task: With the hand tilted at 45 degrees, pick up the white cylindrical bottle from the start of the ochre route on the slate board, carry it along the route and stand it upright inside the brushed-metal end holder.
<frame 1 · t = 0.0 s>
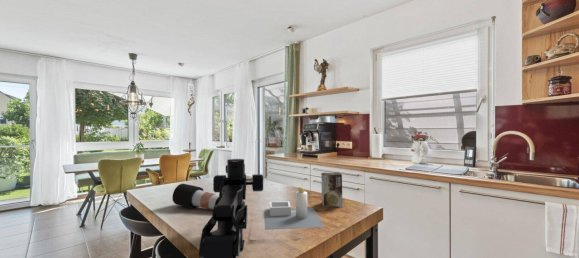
hand: (240, 179, 106), 17 cm above the worktop, tool horizontal, fingers open, 9 cm apart
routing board: (291, 220, 105), on the worktop
white cylindrical bottle: (301, 216, 105), point 1 cm above the worktop, touching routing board
coffee box: (331, 207, 123), on the worktop
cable: (208, 210, 119), on the worktop
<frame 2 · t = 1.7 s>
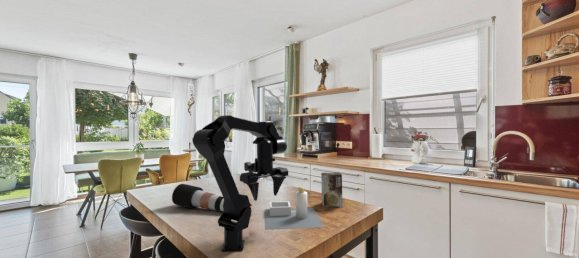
hand: (265, 197, 94), 12 cm above the worktop, tool pointing down, fingers open, 9 cm apart
nothing on the worktop moved.
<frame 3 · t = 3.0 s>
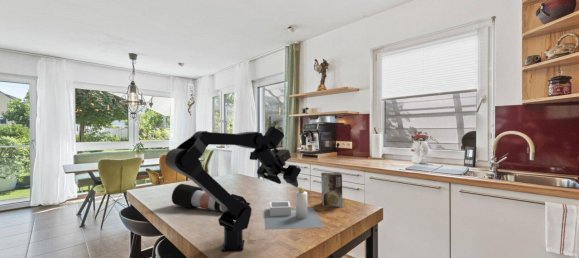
hand: (288, 184, 100), 16 cm above the worktop, tool tilted 45°, fingers open, 9 cm apart
nothing on the worktop moved.
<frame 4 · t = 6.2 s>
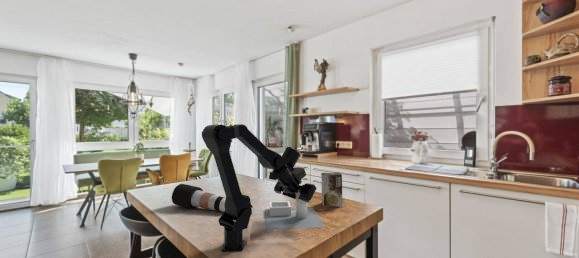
hand: (303, 200, 106), 8 cm above the worktop, tool tilted 45°, fingers closed on white cylindrical bottle, 5 cm apart
white cylindrical bottle: (301, 216, 105), point 1 cm above the worktop, touching gripper, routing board
everything else where it was.
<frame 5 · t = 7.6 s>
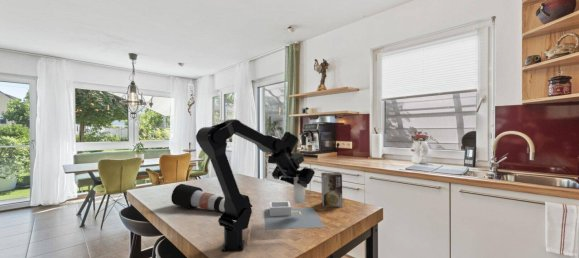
hand: (301, 186, 107), 13 cm above the worktop, tool tilted 45°, fingers closed on white cylindrical bottle, 5 cm apart
white cylindrical bottle: (299, 201, 106), point 7 cm above the worktop, touching gripper
everything else where it was.
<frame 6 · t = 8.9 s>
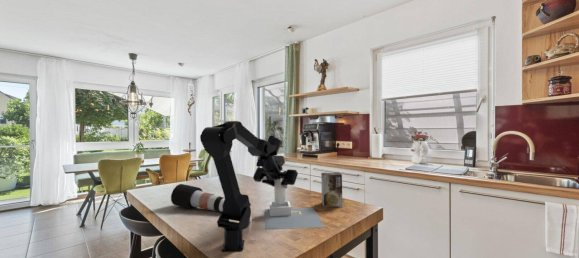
hand: (281, 187, 112), 12 cm above the worktop, tool tilted 45°, fingers closed on white cylindrical bottle, 5 cm apart
white cylindrical bottle: (279, 202, 111), point 6 cm above the worktop, touching gripper
everything else where it was.
when the fingers open (9 cm above the worktop, at t = 9.8 s): white cylindrical bottle drops 1 cm, resting on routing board.
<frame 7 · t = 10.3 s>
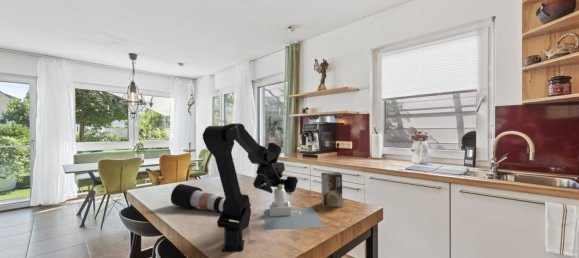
hand: (281, 193, 112), 9 cm above the worktop, tool tilted 45°, fingers open, 9 cm apart
white cylindrical bottle: (279, 212, 111), point 1 cm above the worktop, touching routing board
everything else where it was.
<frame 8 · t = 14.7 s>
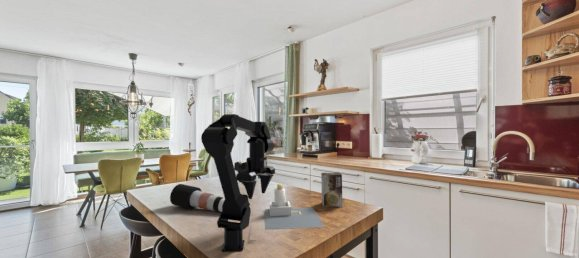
hand: (257, 196, 96), 12 cm above the worktop, tool pointing down, fingers open, 9 cm apart
at the end: white cylindrical bottle 0.0 cm from the target spot, point 1.2 cm above the worktop; white cylindrical bottle tilted 0°; the gripper is holding nothing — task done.
